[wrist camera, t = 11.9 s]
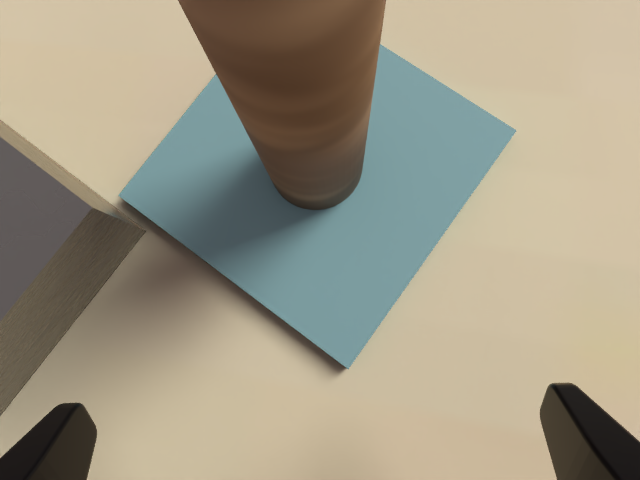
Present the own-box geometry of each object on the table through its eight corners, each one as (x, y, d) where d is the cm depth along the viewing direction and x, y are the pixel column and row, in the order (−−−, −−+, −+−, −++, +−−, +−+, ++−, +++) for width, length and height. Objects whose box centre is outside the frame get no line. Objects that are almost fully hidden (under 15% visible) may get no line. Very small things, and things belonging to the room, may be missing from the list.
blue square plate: (348, 367, 17) (348, 369, 17) (125, 199, 19) (118, 195, 18) (510, 136, 18) (516, 130, 18) (289, -5, 20) (287, -15, 19)
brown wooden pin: (297, 230, 18) (98, -147, 3) (249, 148, 18) (-92, -473, 4) (383, 181, 18) (560, -386, 3) (333, 100, 18) (304, -665, 4)
